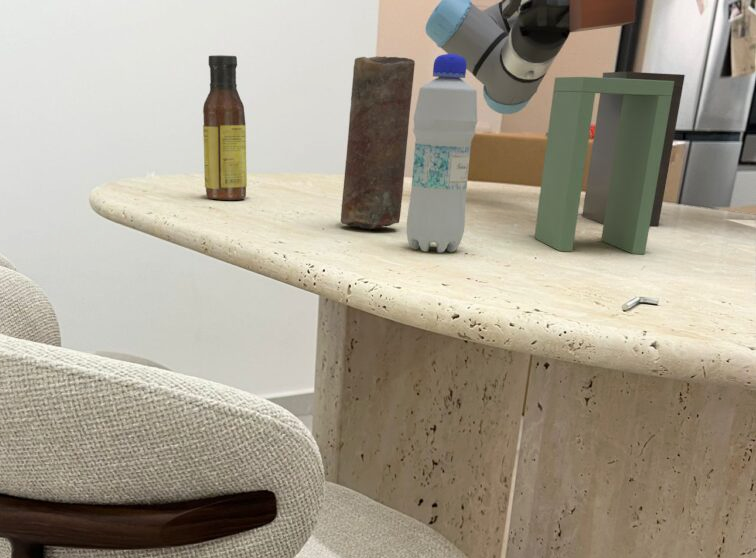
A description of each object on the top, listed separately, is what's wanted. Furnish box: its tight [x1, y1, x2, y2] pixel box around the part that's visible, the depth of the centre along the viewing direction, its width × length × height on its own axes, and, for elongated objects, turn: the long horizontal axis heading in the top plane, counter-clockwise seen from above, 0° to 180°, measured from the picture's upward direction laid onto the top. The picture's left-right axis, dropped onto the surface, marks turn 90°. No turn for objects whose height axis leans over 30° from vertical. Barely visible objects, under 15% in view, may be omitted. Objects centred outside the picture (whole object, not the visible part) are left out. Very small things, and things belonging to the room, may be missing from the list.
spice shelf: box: [581, 71, 686, 227], centre depth 134 cm, size 8×9×20 cm
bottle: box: [406, 53, 478, 254], centre depth 101 cm, size 7×7×20 cm
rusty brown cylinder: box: [340, 56, 416, 230], centre depth 114 cm, size 8×7×20 cm
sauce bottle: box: [202, 54, 248, 201], centre depth 138 cm, size 7×6×20 cm
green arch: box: [534, 76, 674, 255], centre depth 109 cm, size 10×10×18 cm
